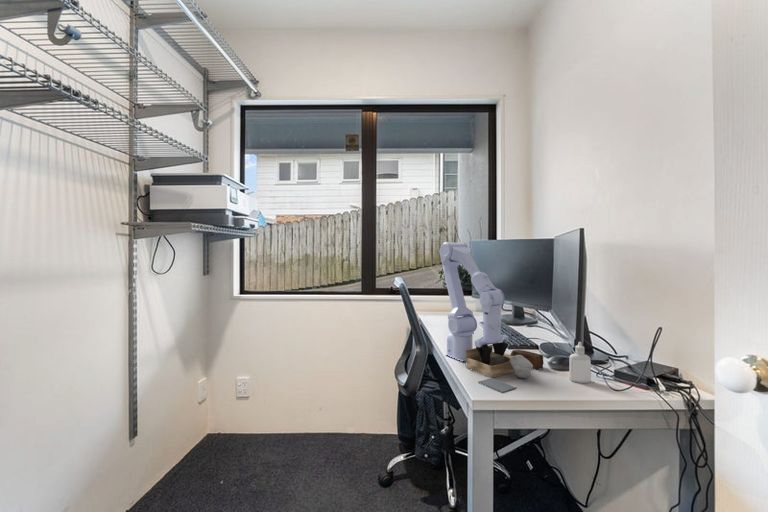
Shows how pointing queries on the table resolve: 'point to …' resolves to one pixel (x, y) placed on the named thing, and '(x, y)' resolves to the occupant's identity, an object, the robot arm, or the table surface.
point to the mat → (497, 385)
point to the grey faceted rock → (521, 366)
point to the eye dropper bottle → (579, 366)
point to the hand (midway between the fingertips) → (492, 365)
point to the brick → (530, 358)
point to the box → (495, 359)
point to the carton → (485, 369)
